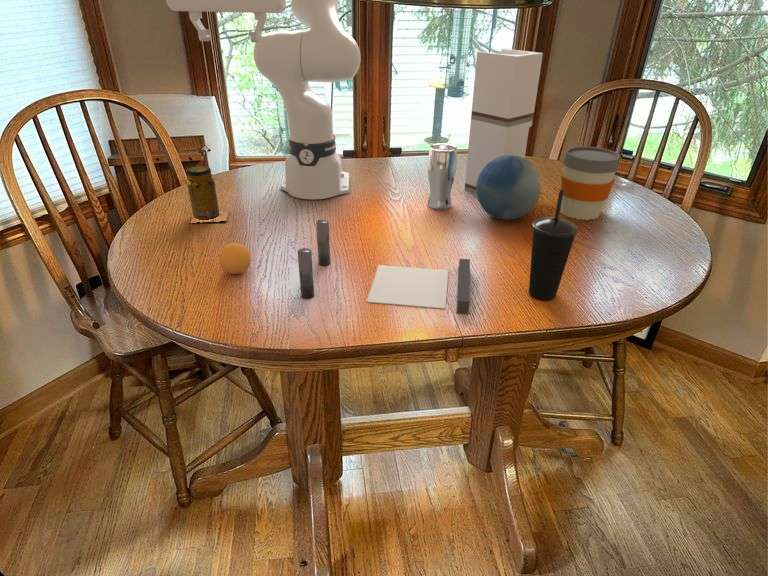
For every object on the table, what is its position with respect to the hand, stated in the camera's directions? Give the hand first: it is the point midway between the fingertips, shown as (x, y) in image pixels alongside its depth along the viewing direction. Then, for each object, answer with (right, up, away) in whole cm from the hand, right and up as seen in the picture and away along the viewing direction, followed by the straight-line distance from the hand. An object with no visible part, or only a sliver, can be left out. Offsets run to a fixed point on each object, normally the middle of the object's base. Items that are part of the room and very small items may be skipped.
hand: (230, 41), depth 93 cm
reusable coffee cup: (+76, -25, +39) cm, 89 cm away
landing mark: (+32, -43, +7) cm, 54 cm away
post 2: (+15, -38, +14) cm, 43 cm away
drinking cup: (+56, -45, +5) cm, 72 cm away
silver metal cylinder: (+41, -23, +42) cm, 63 cm away
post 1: (+13, -45, +3) cm, 47 cm away
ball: (-2, -38, +9) cm, 39 cm away
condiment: (-15, -27, +34) cm, 46 cm away
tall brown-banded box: (+57, -17, +52) cm, 79 cm away
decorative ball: (+56, -26, +36) cm, 72 cm away
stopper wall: (+42, -44, +5) cm, 61 cm away
